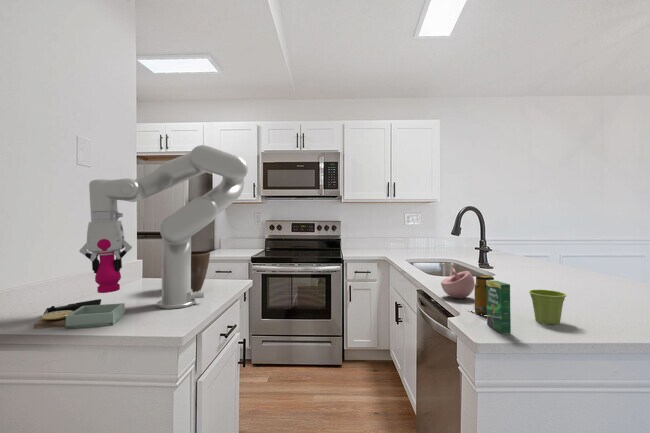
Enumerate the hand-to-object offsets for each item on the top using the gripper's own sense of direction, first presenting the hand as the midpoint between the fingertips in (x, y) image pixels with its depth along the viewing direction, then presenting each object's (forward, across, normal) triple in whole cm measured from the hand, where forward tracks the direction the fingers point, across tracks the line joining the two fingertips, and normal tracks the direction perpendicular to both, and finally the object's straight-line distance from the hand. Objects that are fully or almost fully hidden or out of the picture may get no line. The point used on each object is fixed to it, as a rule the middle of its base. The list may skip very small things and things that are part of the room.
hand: (107, 271), depth 111 cm
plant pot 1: (+15, -23, -25) cm, 37 cm away
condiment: (+19, -117, +39) cm, 125 cm away
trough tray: (+13, 0, +12) cm, 18 cm away
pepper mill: (+7, 0, 0) cm, 7 cm away
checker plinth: (+13, +10, +11) cm, 19 cm away
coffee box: (+18, -109, +52) cm, 122 cm away
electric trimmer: (+13, +11, -2) cm, 17 cm away
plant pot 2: (+19, -128, +51) cm, 139 cm away
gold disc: (+13, +10, +11) cm, 19 cm away
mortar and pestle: (+19, -122, +19) cm, 125 cm away
